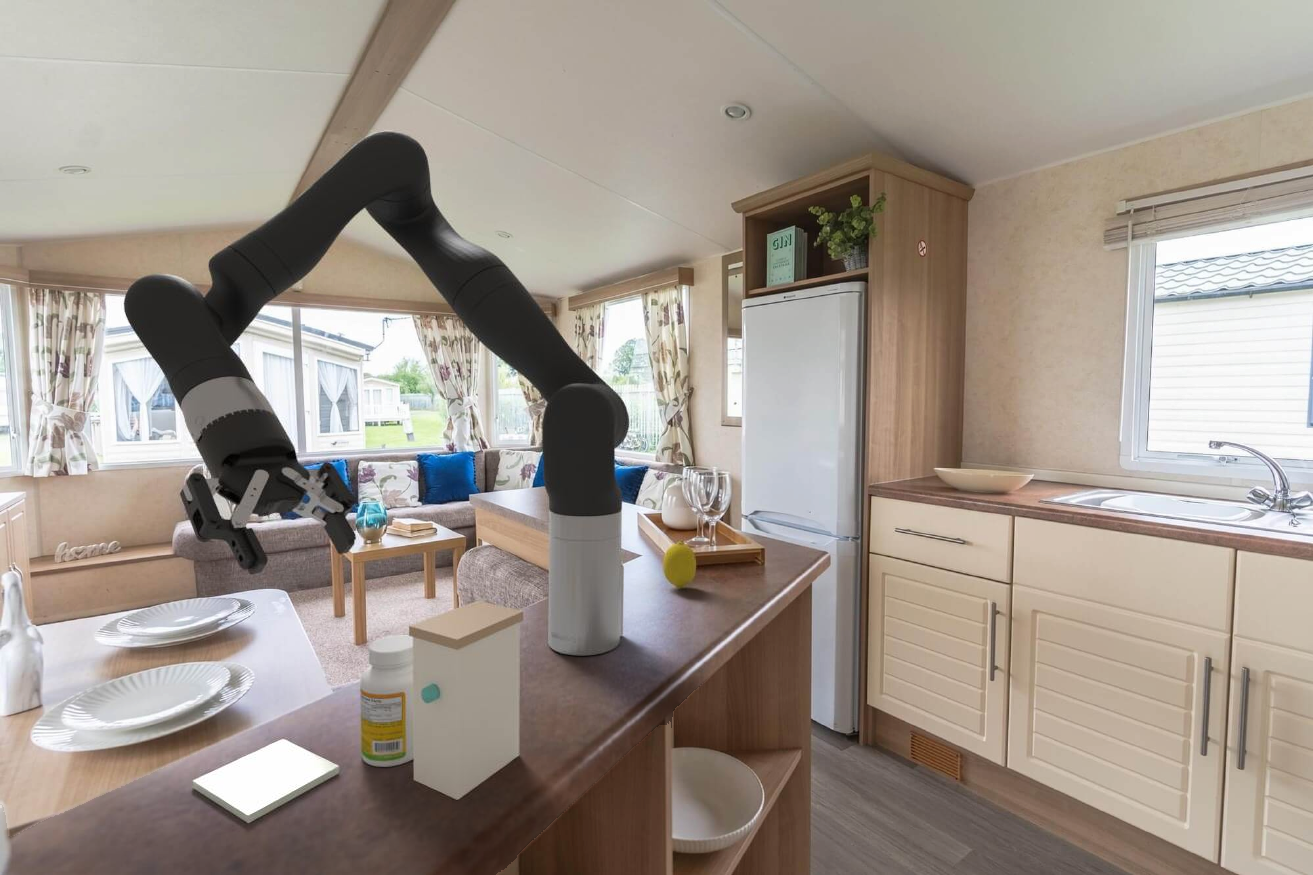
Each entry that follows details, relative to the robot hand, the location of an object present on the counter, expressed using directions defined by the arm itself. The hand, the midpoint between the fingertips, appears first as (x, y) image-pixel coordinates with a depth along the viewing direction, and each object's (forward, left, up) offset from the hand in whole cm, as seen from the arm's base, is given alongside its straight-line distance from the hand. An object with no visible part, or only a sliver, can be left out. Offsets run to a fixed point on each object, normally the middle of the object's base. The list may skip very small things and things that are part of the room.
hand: (306, 558), depth 58 cm
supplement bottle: (-1, +12, -16) cm, 20 cm away
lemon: (-56, +11, -16) cm, 60 cm away
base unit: (-2, +19, -16) cm, 25 cm away
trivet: (+7, +6, -16) cm, 18 cm away
